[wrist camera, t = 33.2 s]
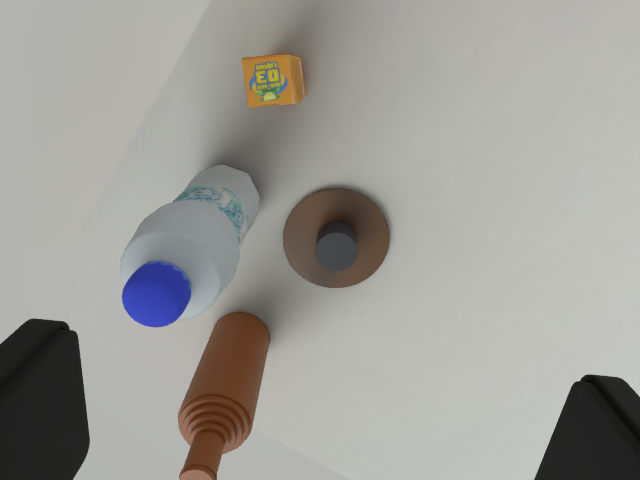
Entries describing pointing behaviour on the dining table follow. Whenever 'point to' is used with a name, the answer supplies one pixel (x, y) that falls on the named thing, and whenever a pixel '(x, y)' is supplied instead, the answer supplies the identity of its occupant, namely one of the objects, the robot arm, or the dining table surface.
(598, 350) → the dining table surface
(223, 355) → the sauce bottle
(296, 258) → the coaster
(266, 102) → the supplement box
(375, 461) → the dining table surface
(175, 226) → the bottle
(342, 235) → the cap
